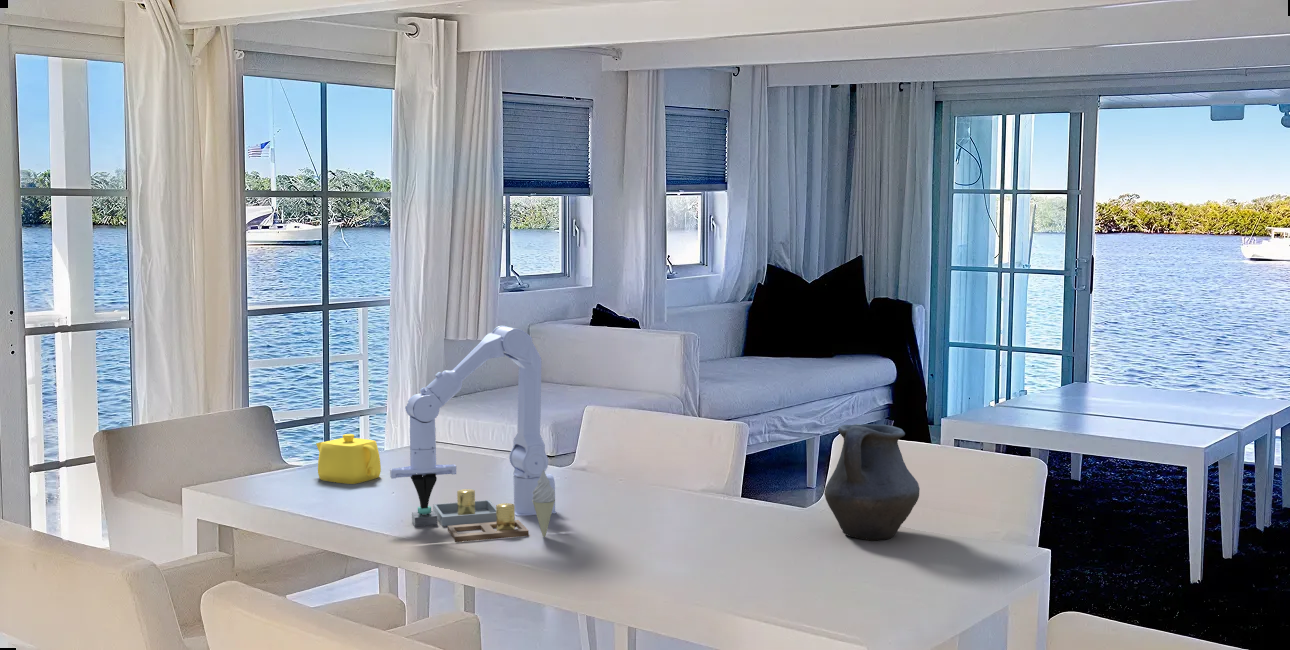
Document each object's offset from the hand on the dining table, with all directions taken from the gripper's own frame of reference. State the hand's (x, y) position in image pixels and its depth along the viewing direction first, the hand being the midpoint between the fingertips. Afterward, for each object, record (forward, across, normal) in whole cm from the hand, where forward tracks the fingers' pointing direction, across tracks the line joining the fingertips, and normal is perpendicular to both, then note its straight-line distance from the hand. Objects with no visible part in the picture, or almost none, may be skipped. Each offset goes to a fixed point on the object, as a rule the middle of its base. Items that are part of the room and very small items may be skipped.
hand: (424, 507), depth 291 cm
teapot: (+4, +12, -58) cm, 59 cm away
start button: (+4, 0, 0) cm, 4 cm away
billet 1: (+4, -10, -3) cm, 11 cm away
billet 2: (+4, -16, +12) cm, 20 cm away
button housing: (+4, 0, 0) cm, 4 cm away
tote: (+4, -10, -3) cm, 11 cm away
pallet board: (+4, -12, +12) cm, 18 cm away
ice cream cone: (+4, -23, +19) cm, 30 cm away
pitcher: (+4, -90, +41) cm, 99 cm away
